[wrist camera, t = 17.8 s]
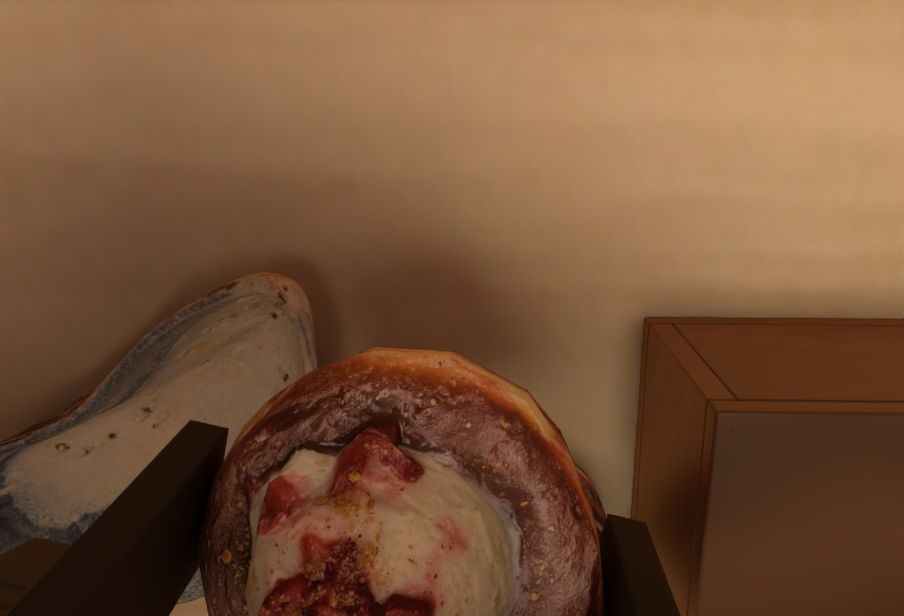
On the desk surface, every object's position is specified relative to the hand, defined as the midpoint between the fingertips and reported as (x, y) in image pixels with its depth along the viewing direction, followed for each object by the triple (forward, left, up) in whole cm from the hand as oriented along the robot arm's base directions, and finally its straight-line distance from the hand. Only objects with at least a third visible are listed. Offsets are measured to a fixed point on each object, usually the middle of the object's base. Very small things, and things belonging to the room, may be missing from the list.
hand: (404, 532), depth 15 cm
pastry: (0, 0, 0) cm, 0 cm away
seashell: (-10, -3, -14) cm, 17 cm away
